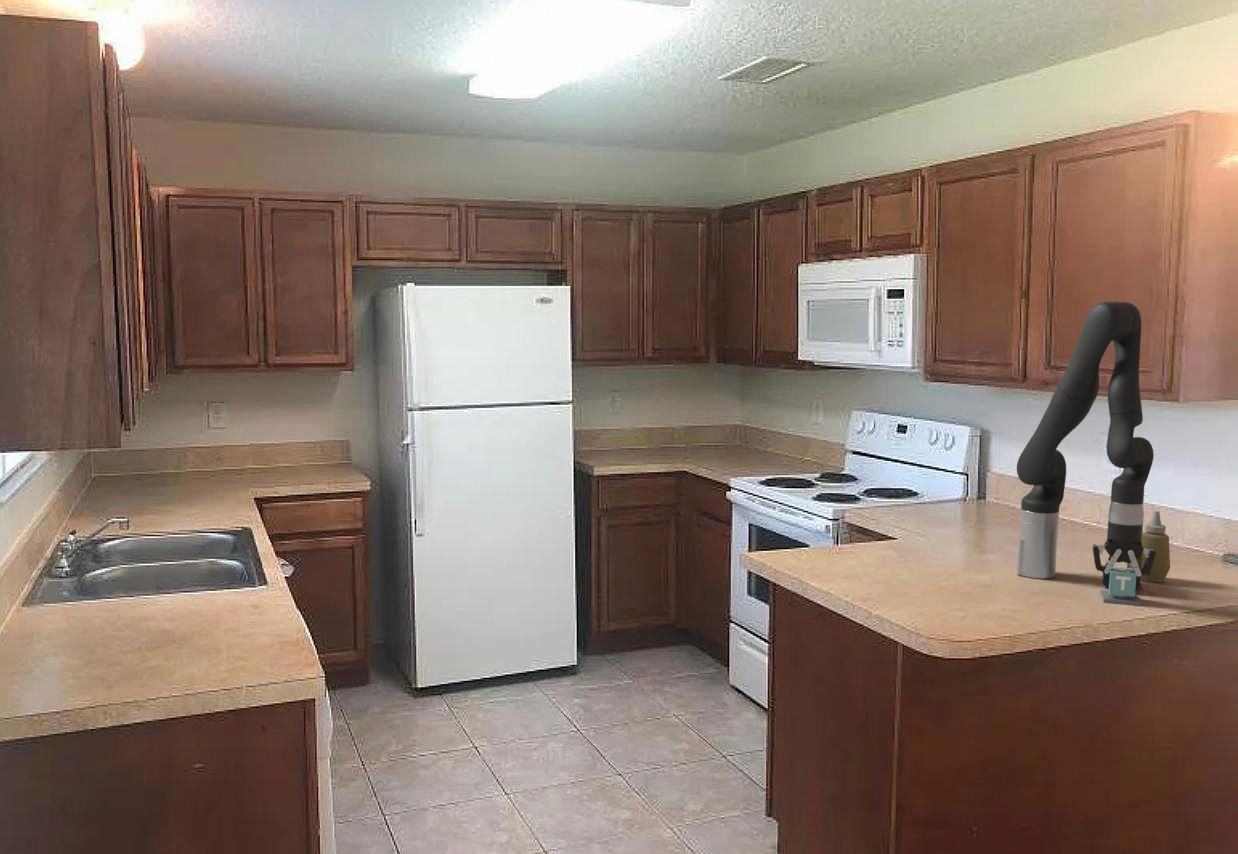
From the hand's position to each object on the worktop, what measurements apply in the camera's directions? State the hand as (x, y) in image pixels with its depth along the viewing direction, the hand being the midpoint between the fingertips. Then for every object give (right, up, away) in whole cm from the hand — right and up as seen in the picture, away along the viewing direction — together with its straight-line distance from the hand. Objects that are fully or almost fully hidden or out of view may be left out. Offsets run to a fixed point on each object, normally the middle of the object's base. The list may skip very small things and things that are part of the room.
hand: (1120, 589), depth 250 cm
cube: (0, -1, 0) cm, 1 cm away
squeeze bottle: (+17, -1, +18) cm, 24 cm away
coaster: (0, -3, 0) cm, 3 cm away
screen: (+7, -2, +8) cm, 11 cm away
